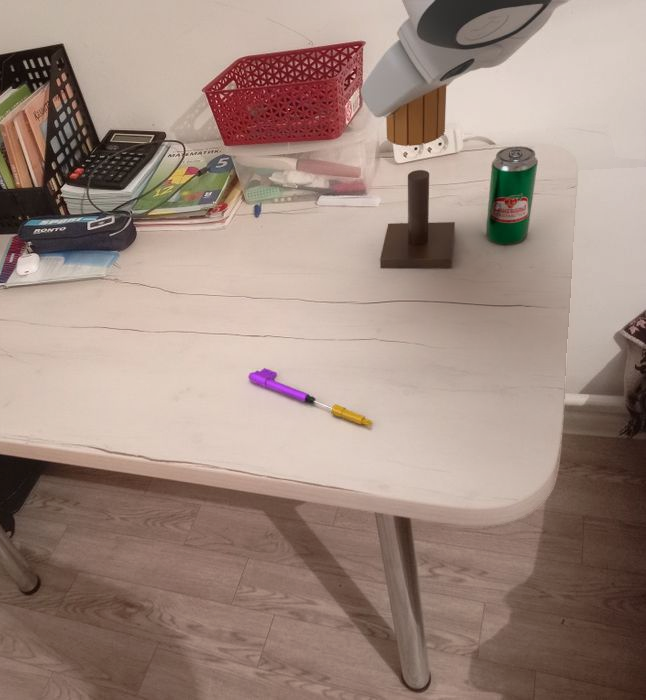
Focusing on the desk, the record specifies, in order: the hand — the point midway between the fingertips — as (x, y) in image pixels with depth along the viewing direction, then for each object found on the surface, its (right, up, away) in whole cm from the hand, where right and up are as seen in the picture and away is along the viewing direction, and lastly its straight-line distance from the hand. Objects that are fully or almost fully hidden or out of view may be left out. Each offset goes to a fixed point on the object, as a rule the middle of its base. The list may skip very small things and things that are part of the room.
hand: (411, 97), depth 74 cm
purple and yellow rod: (-12, -36, -2) cm, 38 cm away
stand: (+6, -16, +13) cm, 22 cm away
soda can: (+17, -15, +11) cm, 25 cm away
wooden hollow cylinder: (+1, -3, +2) cm, 4 cm away
